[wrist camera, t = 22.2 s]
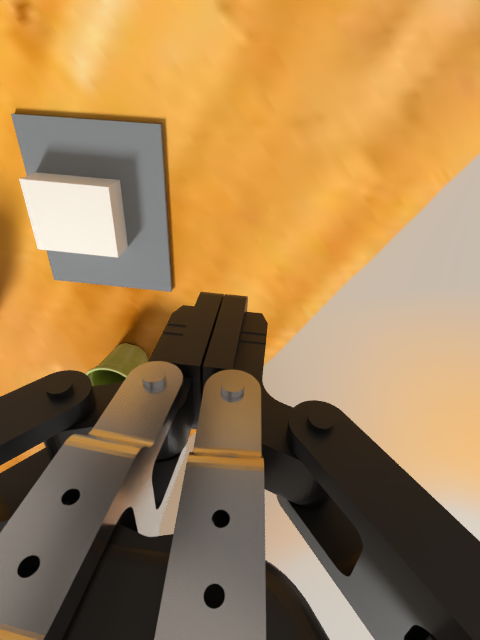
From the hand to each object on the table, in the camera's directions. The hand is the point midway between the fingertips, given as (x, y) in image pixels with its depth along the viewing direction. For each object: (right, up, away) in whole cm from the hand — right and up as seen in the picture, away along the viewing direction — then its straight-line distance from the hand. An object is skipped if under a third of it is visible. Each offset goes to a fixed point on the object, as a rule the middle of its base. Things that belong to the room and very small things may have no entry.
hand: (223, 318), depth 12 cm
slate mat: (-18, +14, +38) cm, 44 cm away
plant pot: (-18, -6, +52) cm, 55 cm away
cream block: (-15, +13, +36) cm, 41 cm away
